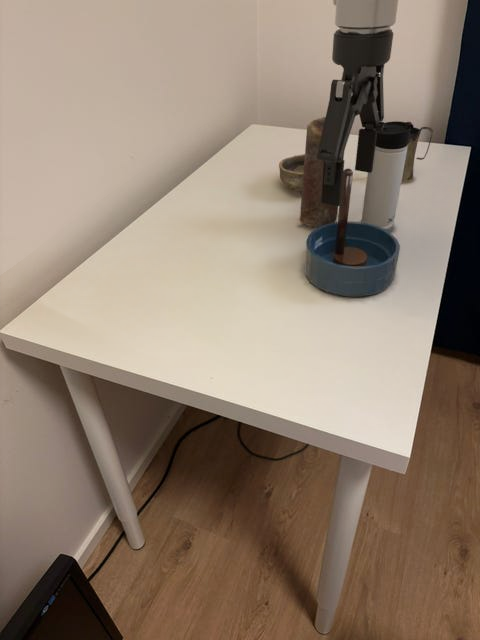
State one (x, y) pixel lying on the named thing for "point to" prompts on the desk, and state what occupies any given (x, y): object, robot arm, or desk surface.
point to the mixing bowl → (348, 278)
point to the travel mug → (386, 175)
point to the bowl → (292, 171)
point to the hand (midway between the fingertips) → (348, 186)
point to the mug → (412, 153)
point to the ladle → (342, 253)
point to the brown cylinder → (315, 181)
